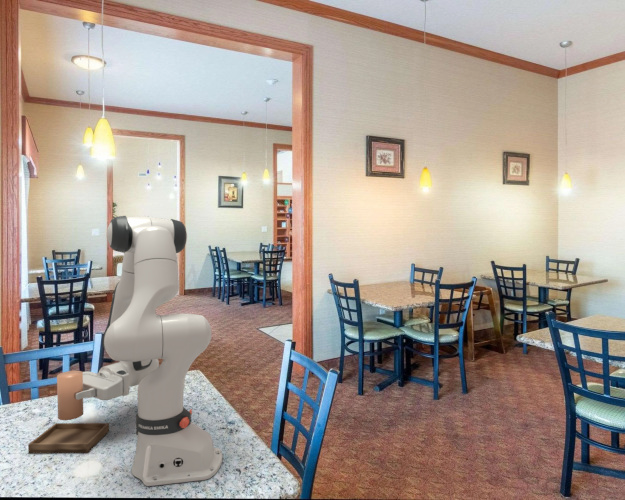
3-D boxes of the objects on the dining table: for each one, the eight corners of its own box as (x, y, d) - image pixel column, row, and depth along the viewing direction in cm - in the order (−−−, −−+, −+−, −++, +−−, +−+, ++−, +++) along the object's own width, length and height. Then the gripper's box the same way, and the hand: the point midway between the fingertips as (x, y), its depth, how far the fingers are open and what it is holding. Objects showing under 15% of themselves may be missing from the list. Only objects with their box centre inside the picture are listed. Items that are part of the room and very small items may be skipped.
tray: (109, 431, 130) (109, 423, 130) (88, 453, 117) (87, 444, 117) (55, 431, 130) (55, 423, 130) (28, 453, 117) (28, 444, 117)
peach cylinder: (87, 410, 127) (86, 370, 126) (76, 420, 120) (75, 378, 120) (65, 410, 127) (64, 370, 126) (53, 420, 120) (52, 378, 120)
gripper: (90, 363, 139) (46, 376, 127) (132, 374, 129) (88, 389, 117) (91, 383, 140) (47, 397, 128) (132, 395, 130) (89, 412, 118)
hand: (67, 393), depth 122 cm, fingers closed on peach cylinder, 6 cm apart
